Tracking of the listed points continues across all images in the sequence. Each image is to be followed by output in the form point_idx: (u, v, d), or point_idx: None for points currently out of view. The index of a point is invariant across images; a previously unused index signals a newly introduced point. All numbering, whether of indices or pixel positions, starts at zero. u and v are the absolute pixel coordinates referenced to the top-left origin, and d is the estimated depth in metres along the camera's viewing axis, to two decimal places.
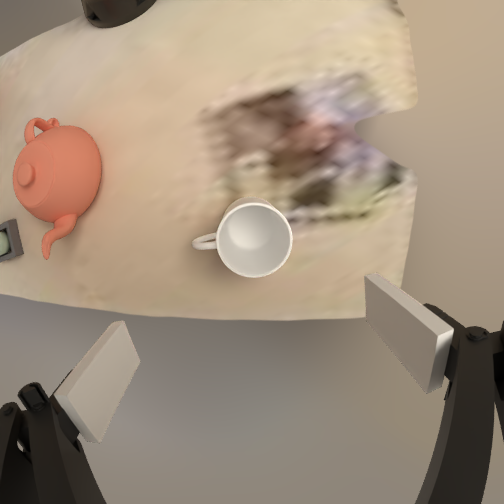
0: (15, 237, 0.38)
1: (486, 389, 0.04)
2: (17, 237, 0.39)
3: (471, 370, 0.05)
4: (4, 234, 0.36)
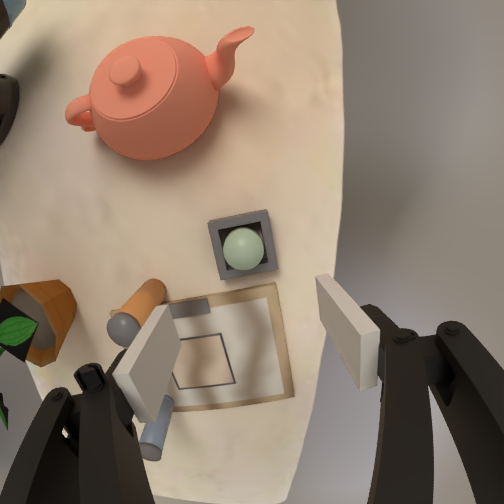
0: (237, 215, 0.33)
1: (419, 390, 0.06)
2: (238, 215, 0.34)
3: (400, 372, 0.06)
4: (229, 234, 0.32)
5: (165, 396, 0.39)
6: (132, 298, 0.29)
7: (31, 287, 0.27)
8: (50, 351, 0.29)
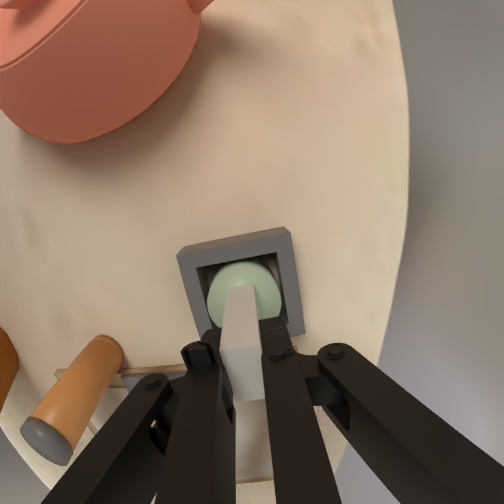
0: (233, 240, 0.18)
1: (302, 405, 0.06)
2: (235, 237, 0.18)
3: (279, 390, 0.07)
4: (218, 271, 0.18)
5: None
6: (60, 382, 0.14)
7: None
8: None
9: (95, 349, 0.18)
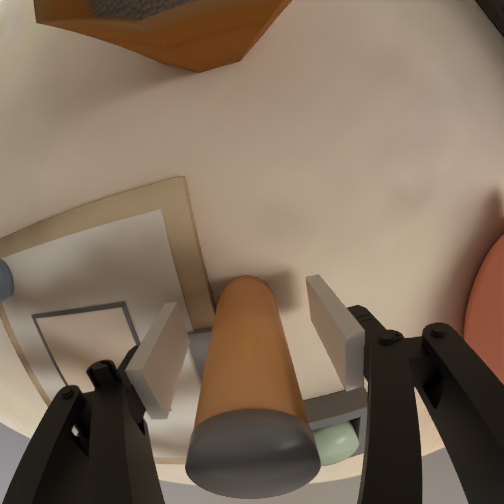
0: None
1: (404, 391, 0.06)
2: None
3: (385, 374, 0.07)
4: (348, 421, 0.18)
5: (10, 286, 0.15)
6: (291, 361, 0.10)
7: None
8: None
9: None
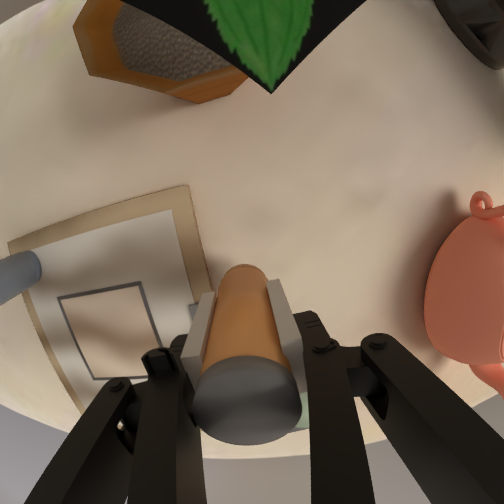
0: None
1: (343, 398, 0.06)
2: None
3: (322, 382, 0.07)
4: None
5: (39, 273, 0.20)
6: None
7: None
8: (110, 51, 0.11)
9: None
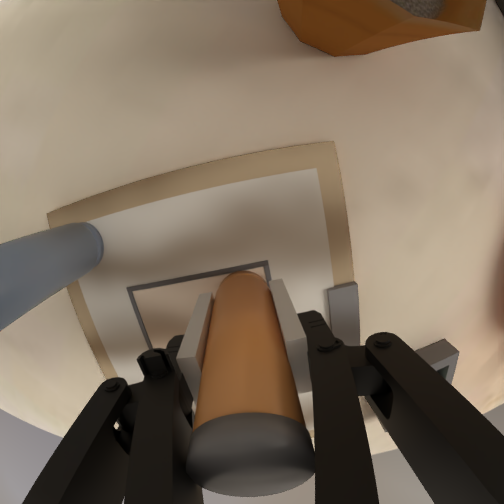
0: None
1: (348, 397, 0.06)
2: None
3: (327, 381, 0.07)
4: None
5: (100, 254, 0.16)
6: None
7: None
8: None
9: None
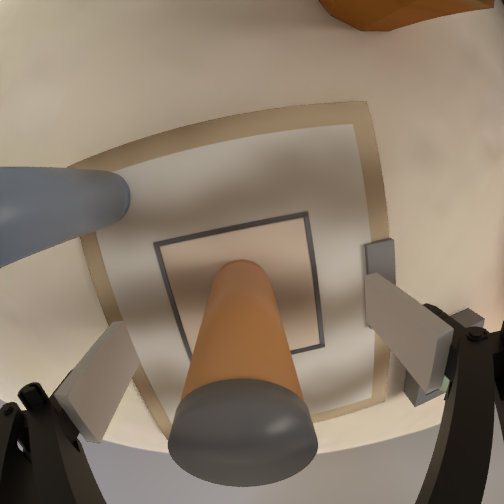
0: None
1: (486, 389, 0.04)
2: None
3: (471, 370, 0.05)
4: None
5: (126, 204, 0.15)
6: (285, 336, 0.10)
7: None
8: None
9: None
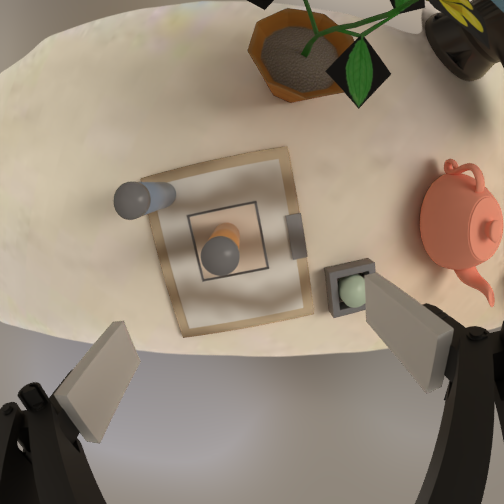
0: None
1: (486, 389, 0.04)
2: None
3: (471, 370, 0.05)
4: (362, 277, 0.38)
5: (174, 197, 0.35)
6: (238, 240, 0.30)
7: None
8: (265, 69, 0.25)
9: None
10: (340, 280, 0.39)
